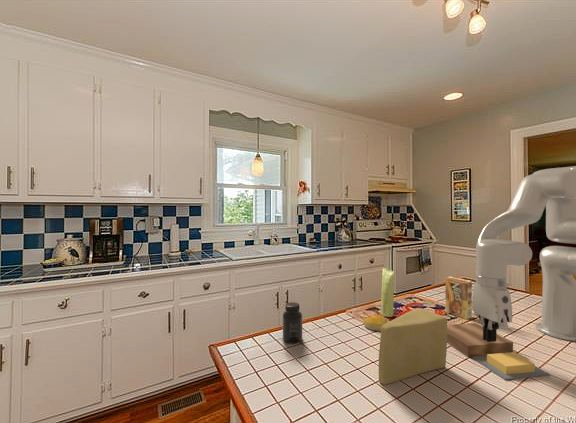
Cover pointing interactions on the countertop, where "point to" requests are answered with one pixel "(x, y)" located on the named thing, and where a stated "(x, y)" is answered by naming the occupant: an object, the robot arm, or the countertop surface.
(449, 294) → the candy box
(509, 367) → the yellow block
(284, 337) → the supplement bottle
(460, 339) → the brown wooden block
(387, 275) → the tube
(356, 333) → the countertop surface
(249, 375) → the countertop surface
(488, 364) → the mat
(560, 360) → the countertop surface
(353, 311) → the countertop surface
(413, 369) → the cheese
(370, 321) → the bread roll
